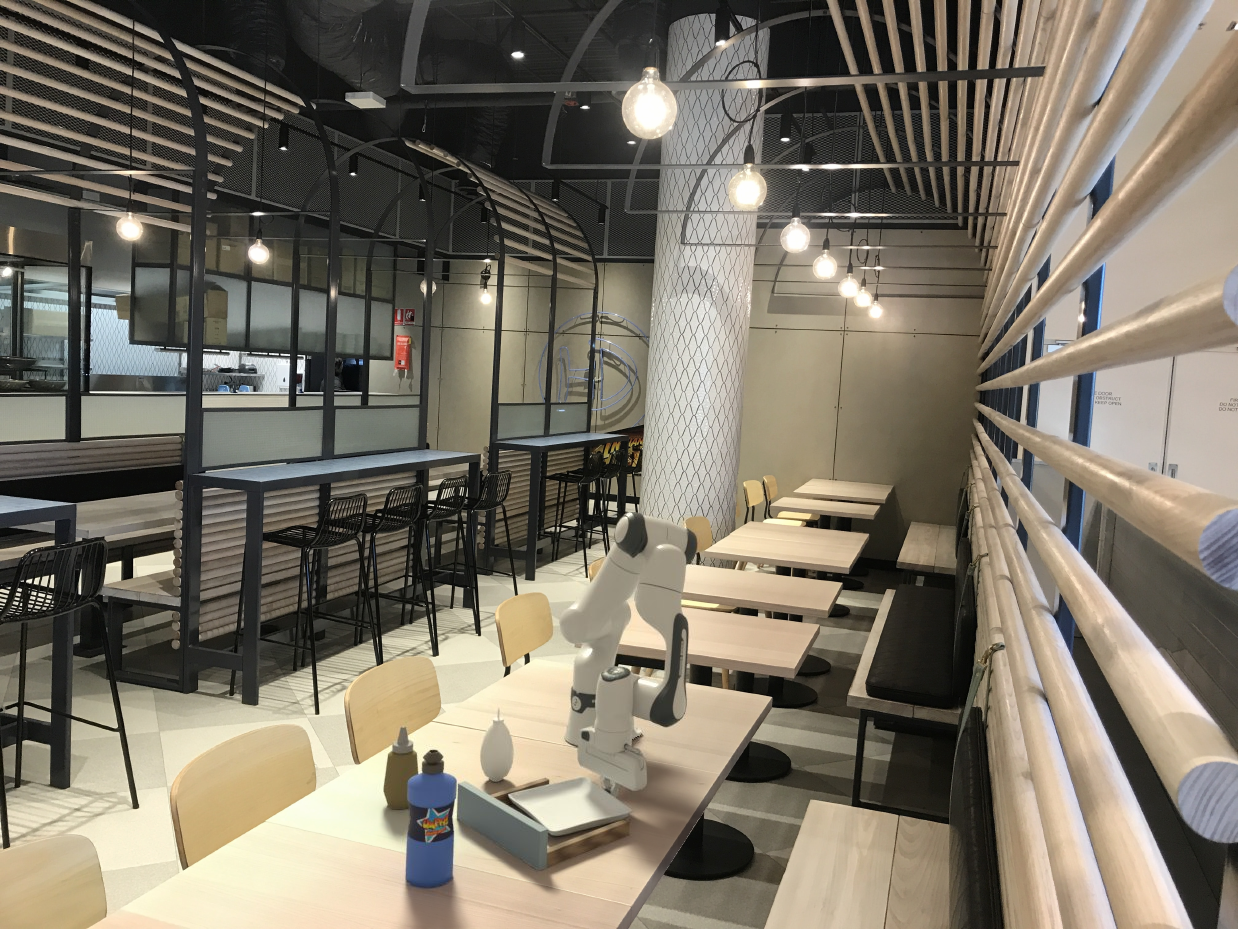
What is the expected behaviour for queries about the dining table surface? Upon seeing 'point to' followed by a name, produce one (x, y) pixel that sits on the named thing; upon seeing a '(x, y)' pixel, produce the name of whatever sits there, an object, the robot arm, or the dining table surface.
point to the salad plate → (570, 806)
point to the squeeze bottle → (400, 771)
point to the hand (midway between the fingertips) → (610, 796)
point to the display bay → (525, 827)
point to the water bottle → (430, 824)
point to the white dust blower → (497, 750)
